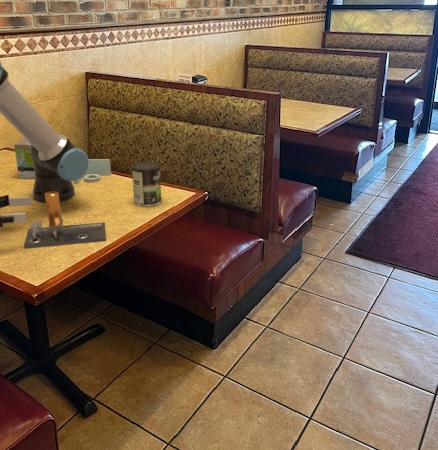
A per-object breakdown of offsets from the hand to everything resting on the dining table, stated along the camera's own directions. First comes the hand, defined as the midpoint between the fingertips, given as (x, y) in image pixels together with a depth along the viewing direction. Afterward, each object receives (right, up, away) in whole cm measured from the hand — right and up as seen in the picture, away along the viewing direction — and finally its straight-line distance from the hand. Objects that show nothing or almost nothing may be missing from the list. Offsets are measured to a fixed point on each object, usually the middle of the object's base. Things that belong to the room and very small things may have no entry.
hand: (28, 208), depth 153 cm
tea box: (-20, +17, +60) cm, 66 cm away
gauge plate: (+10, -8, +4) cm, 14 cm away
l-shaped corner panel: (+7, +13, +54) cm, 56 cm away
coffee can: (+32, +3, +31) cm, 45 cm away
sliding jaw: (+7, -7, +3) cm, 11 cm away
